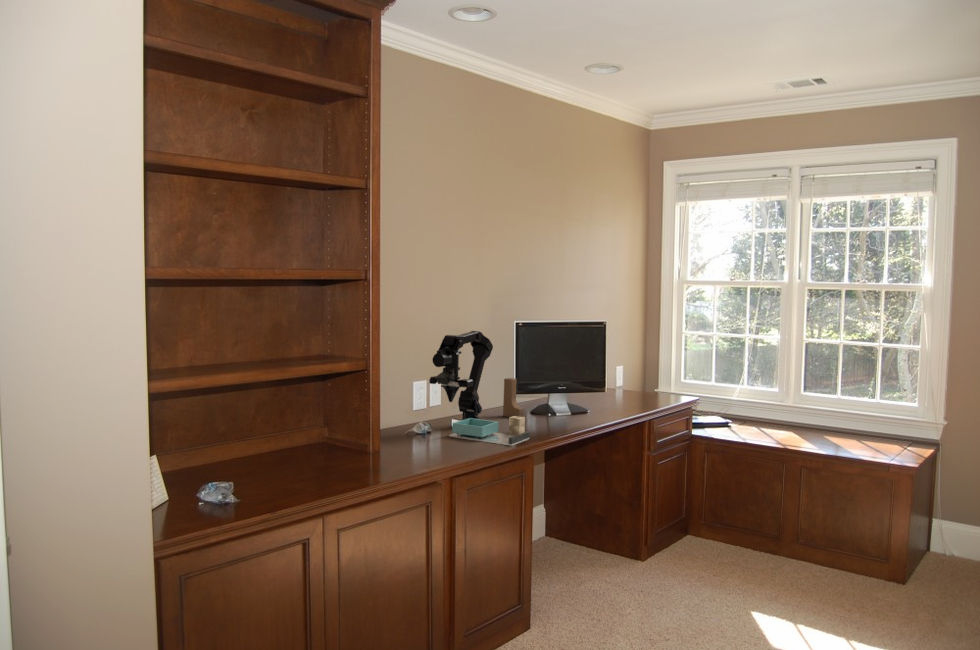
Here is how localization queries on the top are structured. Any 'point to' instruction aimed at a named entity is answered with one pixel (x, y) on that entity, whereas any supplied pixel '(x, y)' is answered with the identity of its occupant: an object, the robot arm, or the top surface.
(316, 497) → the top surface
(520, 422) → the part
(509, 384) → the wooden block
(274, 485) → the top surface
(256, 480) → the top surface
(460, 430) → the teal storage bin
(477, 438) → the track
